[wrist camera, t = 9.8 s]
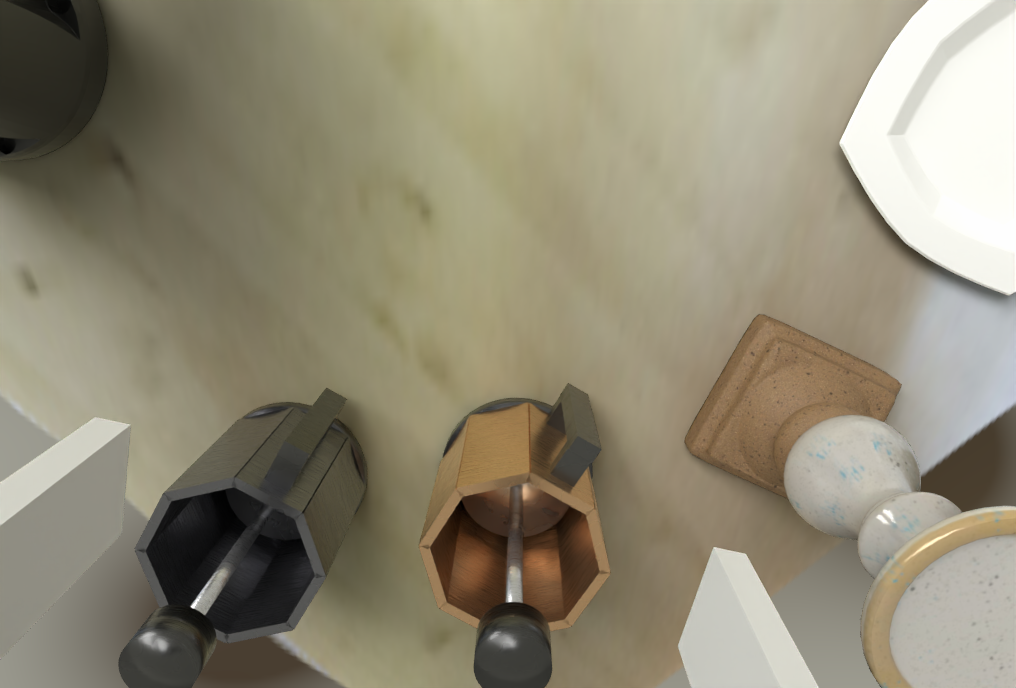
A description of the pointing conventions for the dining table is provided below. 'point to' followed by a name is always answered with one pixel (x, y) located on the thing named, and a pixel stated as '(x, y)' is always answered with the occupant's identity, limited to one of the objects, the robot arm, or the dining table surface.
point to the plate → (946, 138)
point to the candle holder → (869, 506)
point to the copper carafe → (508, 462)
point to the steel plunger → (196, 609)
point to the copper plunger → (514, 590)
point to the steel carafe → (276, 482)
